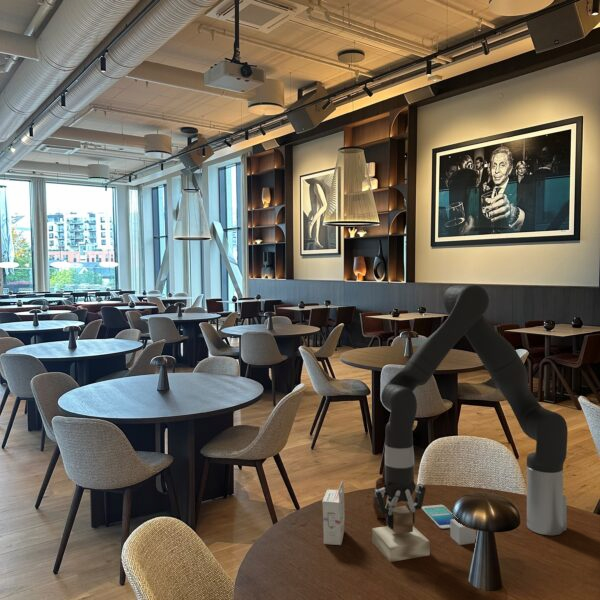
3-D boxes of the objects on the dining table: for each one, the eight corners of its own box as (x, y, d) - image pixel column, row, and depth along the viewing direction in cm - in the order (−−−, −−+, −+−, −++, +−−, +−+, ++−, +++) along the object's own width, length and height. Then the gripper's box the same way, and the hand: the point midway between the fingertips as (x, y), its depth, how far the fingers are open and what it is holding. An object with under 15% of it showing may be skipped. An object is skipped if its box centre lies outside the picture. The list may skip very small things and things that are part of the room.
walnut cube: (405, 523, 145) (405, 505, 145) (412, 531, 140) (412, 513, 140) (388, 525, 144) (387, 507, 144) (395, 534, 139) (395, 515, 139)
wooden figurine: (380, 509, 166) (379, 461, 165) (398, 514, 162) (397, 464, 162) (369, 517, 160) (369, 467, 160) (387, 522, 157) (386, 471, 156)
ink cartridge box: (327, 529, 153) (326, 478, 153) (345, 531, 152) (344, 479, 152) (322, 544, 145) (321, 489, 144) (341, 546, 144) (340, 491, 143)
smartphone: (443, 504, 168) (465, 525, 153) (443, 507, 168) (465, 528, 153) (420, 506, 167) (440, 528, 152) (420, 509, 167) (440, 531, 152)
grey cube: (466, 534, 149) (466, 517, 149) (475, 543, 144) (475, 525, 144) (450, 536, 148) (450, 519, 148) (459, 545, 143) (459, 527, 143)
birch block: (409, 536, 149) (409, 522, 149) (429, 556, 138) (429, 541, 138) (372, 542, 146) (372, 528, 146) (390, 563, 135) (389, 547, 135)
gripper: (418, 454, 147) (419, 517, 147) (368, 459, 143) (369, 523, 144) (431, 463, 139) (432, 529, 140) (378, 469, 136) (379, 536, 137)
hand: (400, 526), depth 142 cm, fingers closed on walnut cube, 4 cm apart
